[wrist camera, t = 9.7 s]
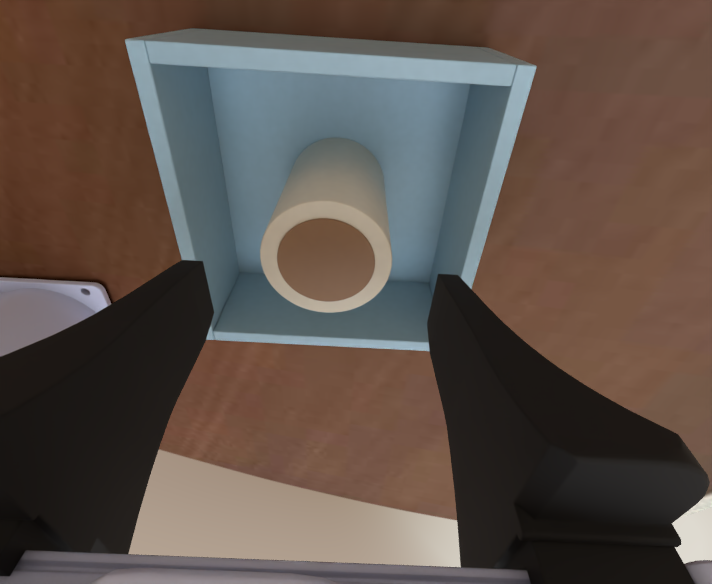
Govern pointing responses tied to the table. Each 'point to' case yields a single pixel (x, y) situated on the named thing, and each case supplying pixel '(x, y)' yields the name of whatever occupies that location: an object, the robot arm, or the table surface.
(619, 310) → the table surface
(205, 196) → the light blue open box
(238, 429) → the table surface
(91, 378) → the robot arm
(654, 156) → the table surface
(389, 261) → the paper roll
